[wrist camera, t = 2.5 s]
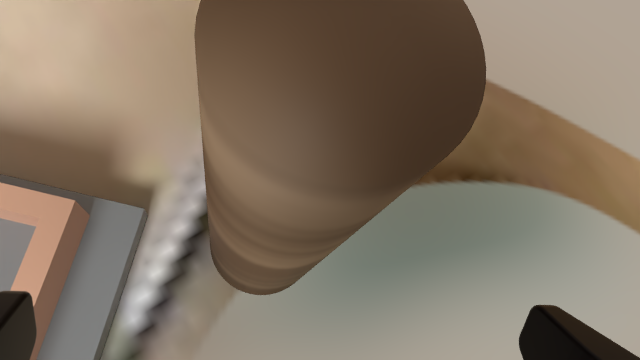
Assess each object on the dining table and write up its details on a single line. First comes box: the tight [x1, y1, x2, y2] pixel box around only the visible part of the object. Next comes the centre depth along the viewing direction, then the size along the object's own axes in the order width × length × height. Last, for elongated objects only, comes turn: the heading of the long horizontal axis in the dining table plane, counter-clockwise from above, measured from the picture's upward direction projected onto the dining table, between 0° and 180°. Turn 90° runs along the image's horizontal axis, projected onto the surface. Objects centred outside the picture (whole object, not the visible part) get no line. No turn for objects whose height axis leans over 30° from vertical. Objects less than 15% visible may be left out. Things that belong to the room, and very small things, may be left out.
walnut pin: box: [195, 0, 486, 295], centre depth 13 cm, size 4×4×14 cm
